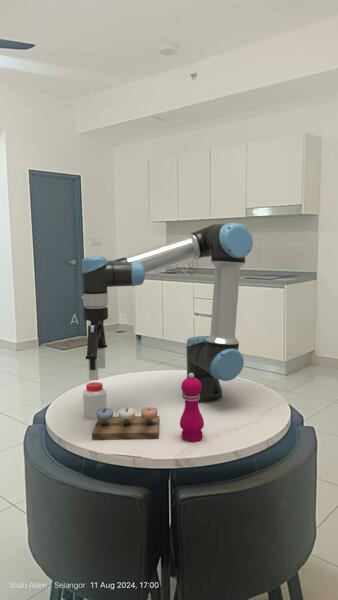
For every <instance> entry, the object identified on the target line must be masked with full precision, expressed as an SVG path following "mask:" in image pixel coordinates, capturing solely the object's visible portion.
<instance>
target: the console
mask: <svg viewBox="0 0 338 600" xmlns="http://www.w3.org/2000/svg"><path fill="white" fill-rule="evenodd" d="M91 432H92V433H91V440H92V441H115V440H117V441H118V440H122V441H123V440H124V441H125V440H160V439H159V438H160V415H157V417H156V418H154V419H152V423H151V424H148V423H147V419H144V418H142V417H141V415H135V417H134V418H132V419H129V424H125V420H124V419H120V418H119V416H113V417H112V418H111V419H108V420H107V424H106V425H103V420H99V419H97V420H96V422H95V425H94V428H93V430H92V431H91Z"/></svg>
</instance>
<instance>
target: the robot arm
mask: <svg viewBox="0 0 338 600" xmlns="http://www.w3.org/2000/svg"><path fill="white" fill-rule="evenodd" d="M253 243H254V241H253V236H252V234H251V231H250V230H249V228H248V227H247V226H245V225H243V224H242V223H239V222H227V223H216V224H210V225H208V226H206V227H204V228H202V229H198V230H196V231H193V232H190V233H187V234H186V236H185V237H184V238H180V239H177V240H173V241H172V242H168V243H163V244H161V245H157V246H156V247H152V248H149V249H145V250H142V251H140V252H136V253H133V254H129V255H126V256H123V257H121V258H117V259H113V260H107V258H106V256H85V257H83V259H82V260H81V262H82V263H81V265H82V266H81V276H82V296H81V297H80V299H81V300H82V301H83V304H82V305H83V307H84V308H83V309H82V310H83V311H82V312H83V320H85V321H89V322H90V325H88V327H87V344H86V345H87V348H86V349H87V350H86V356H85V360H88V361H87V362H88V381H99V369H106V349H107V348H108V344H107V342H106V334H105V327H104V324H105V323H104V322H105V321H106V320H108V318H109V308H108V307H107V306H108V304H109V298H108V297H109V294H108V288H112V287H115V288H116V287H134V286H135V287H136V286H141V285H143V284H144V281H145V277H146V274H147V273H150V272H153V271H156V270H158V269H161V268H164V267H168V266H171V265H174V264H176V263H181V262H183V261H185V260H189V259H193V260H198V259H201V258H209V257H211V258H210V259H211V260H210V261H211V264H212V265H213V266H214V275H213V281H214V282H213V294H212V307H211V320H210V321H211V323H210V324H211V325H210V334H209V335H200V336H192V337H189V338H188V339H187V341H186V347H185V348H186V349H185V350H186V378H189V377H188V375H189V373H193V374H194V378H196V379H198V380H199V381H200V382H201V386H202V388H201V391H200V392H199V394H200V399H199V401H198V403H211V402H216V401H219V400H221V399H222V398H223V388H222V386H221V383H220V381H223V382H228V381H232V380H235V378H236V377H237V376H238V375H240V374H241V372H242V371H243V368H244V365H245V364H244V362H245V361H244V360H245V359H244V357H243V354H242V353H241V352H240V351H239V345H240V341H239V340H238V339H237V337H236V328H237V327H236V326H237V315H238V314H237V313H238V300H239V299H238V298H239V287H240V286H239V285H240V273H241V268H242V267H243V266H244V265H245V264H246V257H247V256H248V255H249V253H251V252H252V249H253ZM183 394H184V392H183V391H182V395H183Z"/></svg>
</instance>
